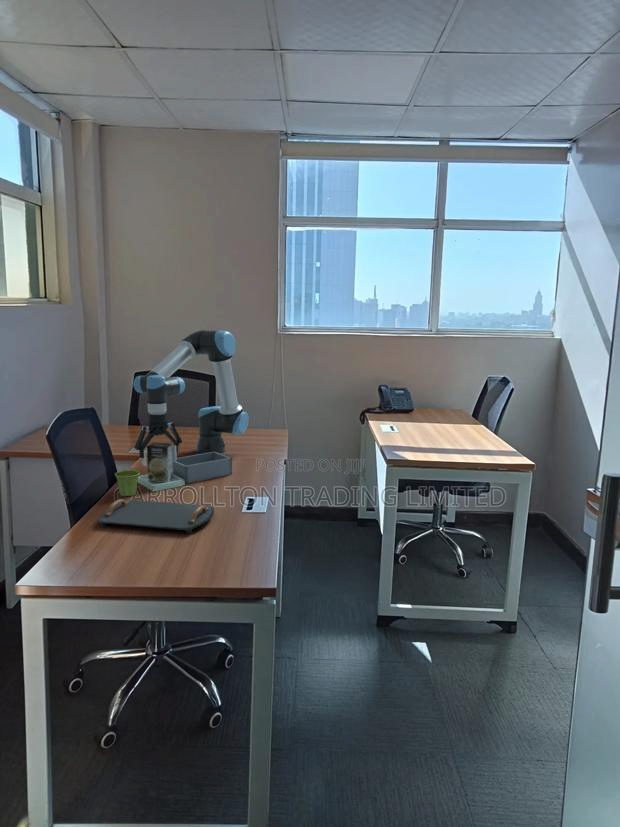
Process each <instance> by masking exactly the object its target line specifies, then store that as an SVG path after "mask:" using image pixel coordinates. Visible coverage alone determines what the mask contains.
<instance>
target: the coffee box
mask: <svg viewBox="0 0 620 827" xmlns="http://www.w3.org/2000/svg"><path fill="white" fill-rule="evenodd" d="M172 444H173V443H167V442H166V443H165V442H151V443H150V444H149V443H148V444H147V446H146V449H147V450H146V459H147V474H148V482H150V483H167V482H171V481H172V480H173V455H172Z"/></svg>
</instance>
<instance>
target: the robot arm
mask: <svg viewBox="0 0 620 827" xmlns="http://www.w3.org/2000/svg"><path fill="white" fill-rule="evenodd" d="M236 347H237V345H236V340H235V337H234V336H233V334H232V333H231V332H229V331H227V330H226V331H225V330H221V329H219V330H205V329H204V330H203V329H201V330H197V331H194V332H192V333H190V334H189V335H187V336H185V337H184V338H183V339H181V341H179V342H178V344H177V347H176V348H175V349H173V350H172V351H171V352H170V353H169V354H168V355H167V356H165V358H163V359H162V360H161V361H159V363H158V364H157V365H155V367H154V368H152V369H150V371H149V372H148V373H146V375H138V376H136V377H135V378H134V380H133V388H134V391H136V392H137V393H138V394H139V393H140V394H147V396H146V398H147V412H148V414H147V417H148V418H147V419H148V421H147V422H148V425H147V426H146V425H145V426H144V425H142V426H140V433H139V435H138V438H137V440H136V442H135V445H134V448H133V449H135V450H137V451H138V452H139V458H140V459H141V465H142V466H144V467H148V464H147V450H145V449H146V448H147V446H148V445H149V443H150V441H151V440H153V438H154V437H156V436H157V437H158V436H163V435H164V436H165V437H166V438H167V439H168V440H170V442H171V444H172V455H173V460H175V461H176V460H177V458H178V457H177V455H178V454H177V453H178V452H179V446H180V444H182V442H183V440H182V438H181V436H180V434H179V433H178V430H177V429H176V427H175V423H174V422H171V421H169V422H168V413H167V410H168V408H167V397H174V396H178V395H180V394H183V392H184V391H185V389H186V383H185V380H184V379H183V378H181V377H179V376H173V377H171V376H172V375H173V374H175V373H176V372H177V371H178V370H179V368H181V367H182V366H183V365H184V364H185V363H187V361H188V360H191V359H193V358H195V357H196V356H201V355H205V356H207V358H208V361H209V362H210V363H212V367H213V370H214V371H213V372H214V377H215V381H216V387H217V392H218V396H219V402H220V405H218V406H215V405H214V406H208V407H203V408H200V409H199V411H198V435H199V437H198V440H197V443H196V447H195V450H196V451H195V452H196V453H197V454H203V453H209V452H217V453H220V454H222V453H224V452H226V444H225V441H224V438H223V434H231V435H242V434H243V433H245V431H247V429H248V426H249V422H250V421H249V419H250V418H249V414H248V413H247V412H246V411H243V406H242V405H241V404H239V401H238V395H237V391H236V384H235V378H234V373H233V367H232V362H231V360H232V358H233V356H234V355H235V352H236ZM168 428H169V429H170V431H171V433H172V434H173V436H172V435H171V434H170V432H169V431H168V430H167V429H168ZM147 432H148V433H147ZM146 434H147V435H146ZM145 436H146V437H145Z"/></svg>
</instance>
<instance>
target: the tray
mask: <svg viewBox="0 0 620 827" xmlns="http://www.w3.org/2000/svg"><path fill="white" fill-rule="evenodd" d="M137 482H138V483H140V484H142V485H144V486H145V487H147V488H148V489H147V488H146V489H147V490H149V489H150V490H149V491H151V490H152V491H151V492H152V493H155V492H154V491H156V492H159V490H161V491H165V490H170V489H174V488H180V487H183V485H186V484H185V480H184V479H182V478H180V477H178V476H176V475H174V474H173V480H172V481H171V482H167V483H150V482H148V473H147V474H142V475H139V477H138V481H137ZM138 483H137V484H138ZM140 484H139V485H140ZM142 485H141V486H142ZM144 486H143V487H144ZM145 487H144V488H145ZM164 489H165V490H164Z"/></svg>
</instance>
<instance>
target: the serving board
mask: <svg viewBox="0 0 620 827" xmlns="http://www.w3.org/2000/svg"><path fill="white" fill-rule="evenodd" d="M214 509H215V508H214V506H212V505H203V504H192V503H191V504H190V503H178V502H168V501H167V502H165V501H151V500H139V499H131V500H125V499H123V498H121V499H117V500H115V501H113V502H112V503H111V504H110V506H109V507H108V509H106V510H105V511H104V512H103V513H102V514H100V516H99V518H98V519H97V522H98V524H100V527H103V528H104V527H107V526H108V524H109V525H119V526H134V527H141V528H142V527H143V528H154V529H168V530H179V531H185V534H186V535H192V533H193V529H197V527H200V526H201V525H204V524H205V523H206V522H208V521H210V519H212V518H213V516H214V514H215V511H214Z"/></svg>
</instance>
